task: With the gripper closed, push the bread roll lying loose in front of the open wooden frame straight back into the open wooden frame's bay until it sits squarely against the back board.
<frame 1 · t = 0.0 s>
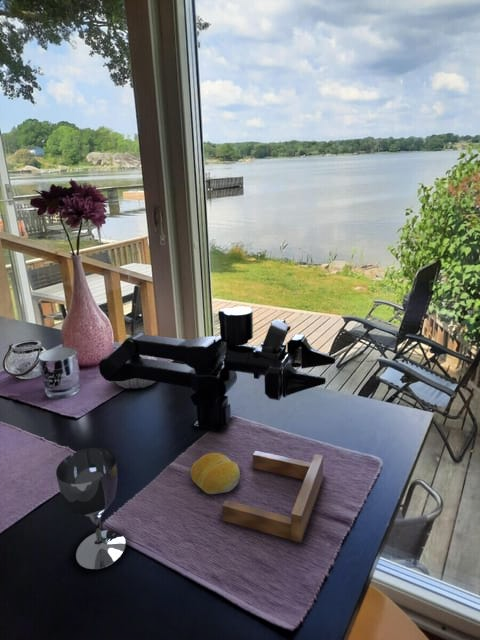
hand: (330, 370, 83), 17 cm above the table, tool horizontal, fingers open, 9 cm apart
bread roll: (215, 480, 80), on the table
sea urchin shell: (138, 381, 118), on the table
open wooden frame: (268, 496, 75), on the table
wine glass: (101, 549, 66), on the table
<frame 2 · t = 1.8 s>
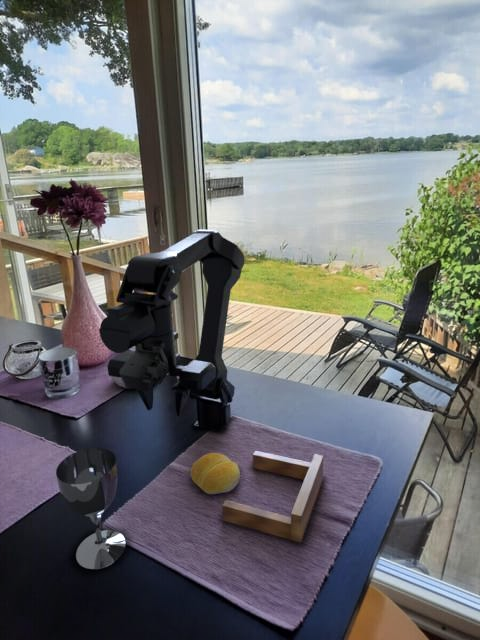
hand: (164, 412, 79), 12 cm above the table, tool pointing down, fingers open, 6 cm apart
nothing on the table moved.
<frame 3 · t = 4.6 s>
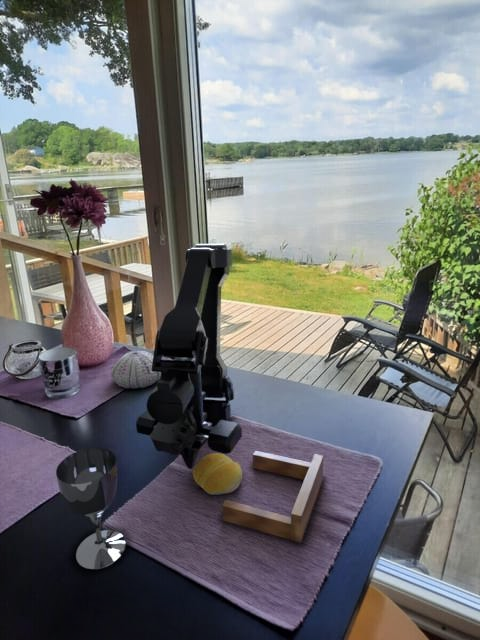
hand: (190, 467, 81), 1 cm above the table, tool pointing down, fingers closed
bread roll: (217, 480, 80), on the table, touching gripper
everything else where it was.
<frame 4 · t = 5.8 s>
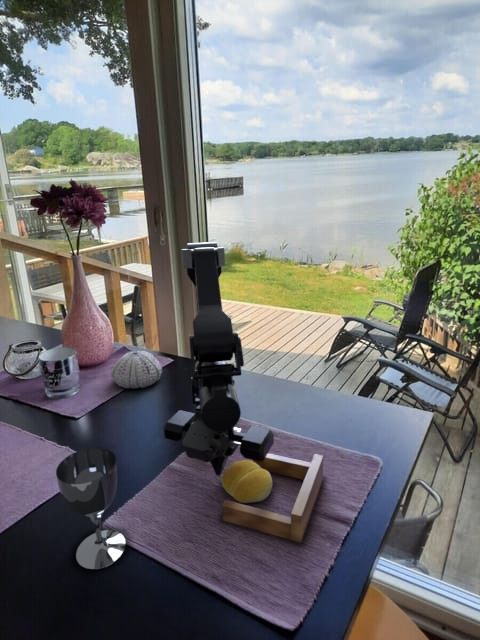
hand: (219, 474, 79), 1 cm above the table, tool pointing down, fingers closed
bread roll: (247, 488, 77), on the table, touching gripper
everything else where it was.
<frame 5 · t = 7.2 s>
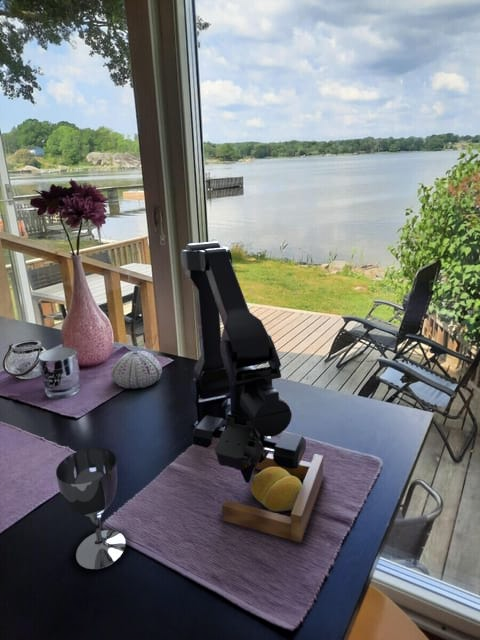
hand: (248, 481, 77), 1 cm above the table, tool pointing down, fingers closed
bread roll: (277, 496, 75), on the table, touching gripper
everything else where it was.
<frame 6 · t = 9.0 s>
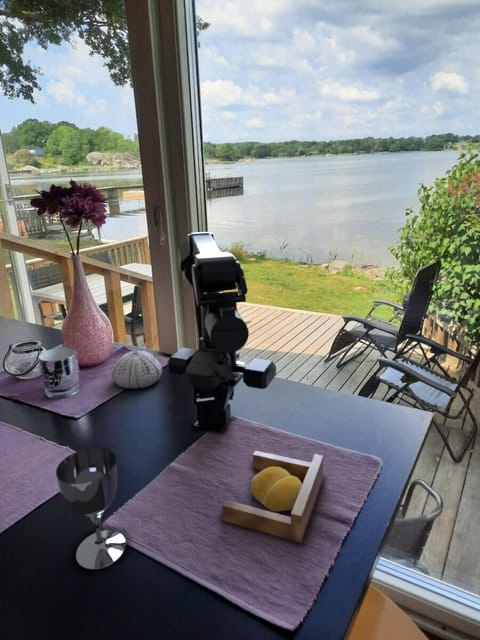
hand: (222, 409, 80), 12 cm above the table, tool pointing down, fingers closed
bread roll: (277, 496, 75), on the table
everything else where it was.
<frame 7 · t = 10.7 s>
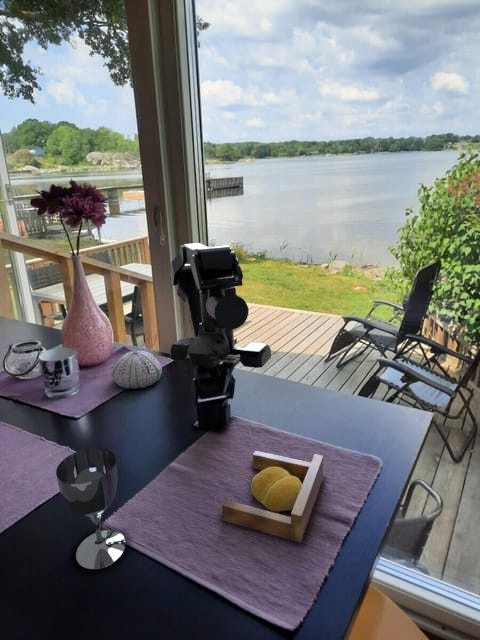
hand: (222, 393, 85), 12 cm above the table, tool pointing down, fingers closed
nothing on the table moved.
at the end: bread roll 1.0 cm from the target spot, on the table; bread roll tilted 1° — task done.
